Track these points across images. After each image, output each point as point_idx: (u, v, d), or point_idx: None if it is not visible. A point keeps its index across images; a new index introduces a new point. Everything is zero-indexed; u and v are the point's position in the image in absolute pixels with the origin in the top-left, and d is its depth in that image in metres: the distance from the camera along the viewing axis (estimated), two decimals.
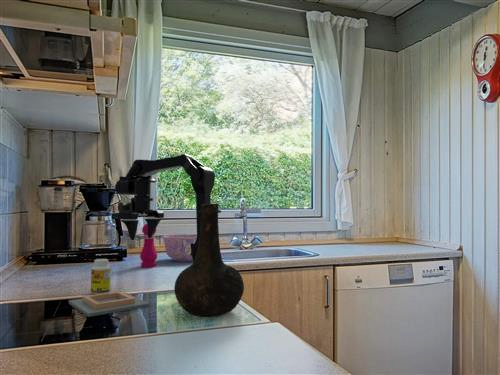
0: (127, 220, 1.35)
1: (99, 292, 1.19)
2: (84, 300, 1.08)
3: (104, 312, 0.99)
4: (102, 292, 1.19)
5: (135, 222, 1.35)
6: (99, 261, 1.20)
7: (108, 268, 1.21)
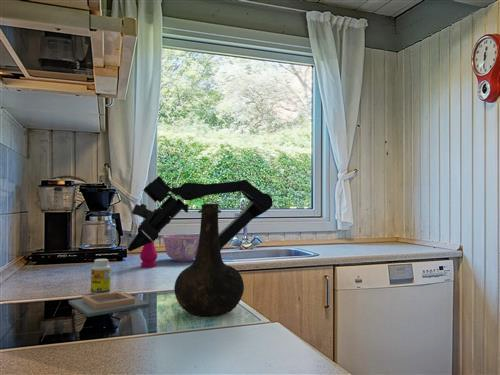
0: (146, 236, 1.18)
1: (99, 292, 1.19)
2: (84, 300, 1.08)
3: (104, 312, 0.99)
4: (102, 292, 1.19)
5: (150, 242, 1.19)
6: (99, 261, 1.20)
7: (108, 268, 1.21)
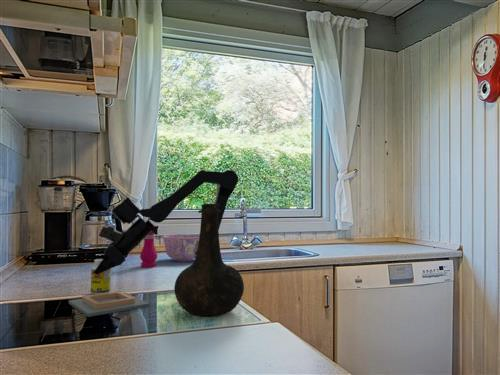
0: (113, 259, 1.17)
1: (99, 292, 1.19)
2: (84, 300, 1.08)
3: (104, 312, 0.99)
4: (102, 292, 1.19)
5: (117, 265, 1.18)
6: (99, 261, 1.20)
7: None
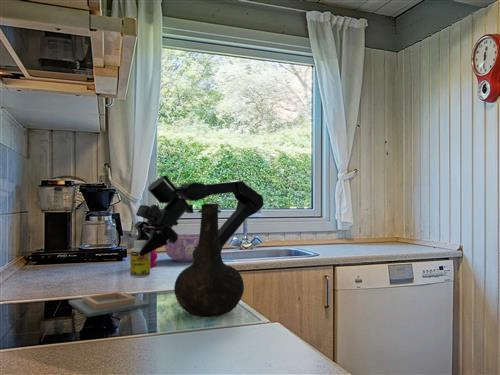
0: (163, 238, 1.13)
1: (144, 274, 1.13)
2: (84, 300, 1.08)
3: (104, 312, 0.99)
4: (146, 274, 1.13)
5: None
6: (142, 242, 1.13)
7: None
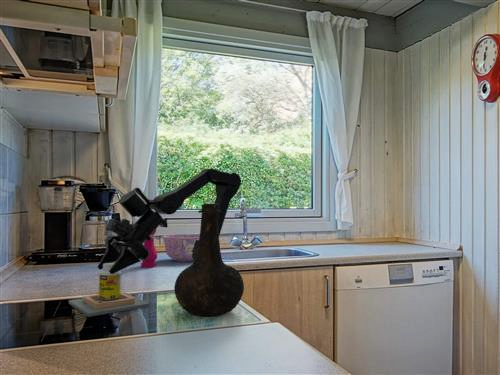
0: (135, 255, 1.05)
1: None
2: (84, 300, 1.08)
3: (104, 312, 0.99)
4: (115, 299, 1.07)
5: None
6: (112, 265, 1.07)
7: (120, 272, 1.09)
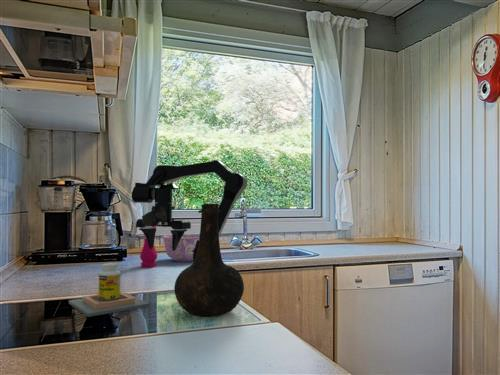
0: (183, 230, 1.30)
1: None
2: (84, 300, 1.08)
3: (104, 312, 0.99)
4: None
5: None
6: (111, 265, 1.07)
7: (120, 273, 1.09)
